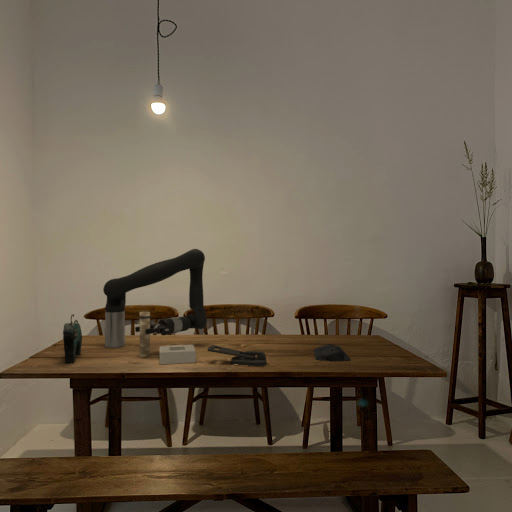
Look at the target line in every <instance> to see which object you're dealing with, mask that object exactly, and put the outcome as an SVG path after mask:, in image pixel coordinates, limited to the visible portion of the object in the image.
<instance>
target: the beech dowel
mask: <svg viewBox="0 0 512 512" xmlns="http://www.w3.org/2000/svg"><path fill="white" fill-rule="evenodd" d="M150 323H151V312H150V311H140V312H139V326H140V332H139V358H140V357H148V358H150V357H151V334H146V333H145V330H146V329H150Z"/></svg>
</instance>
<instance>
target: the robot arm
mask: <svg viewBox="0 0 512 512" xmlns="http://www.w3.org/2000/svg"><path fill="white" fill-rule="evenodd" d="M205 261H206V256H205V254H204V252H203V251H202V250H201V249H199V248H192V249H190V250H188V251H186V252H185V253H183V254H180V255H178V256H176V257H173V258H169V259H165V260H160V261H158V262H155V263H152V264H150V265H146V266H144V267H142V268H140V269H138V270H136V271H134V272H133V273H131V274H128V275H126V276H122V277H118V278H111V279H110V280H107V281H106V282H105V283H104V286H103V287H102V288H103V289H102V290H103V294H104V295H105V296H106V304H105V307H104V308H105V309H104V310H105V313H104V315H105V317H104V319H105V321H104V323H105V326H104V327H105V328H104V348H108V349H109V348H111V349H113V348H116V349H117V348H122V347H125V346H126V329H125V328H126V327H125V326H126V320H125V319H126V313H125V312H126V303H127V302H126V301H127V296H126V295H127V293H128V292H130V291H134V290H136V289H139V288H143V287H147V286H151V285H155V284H157V283H160V282H162V281H165V280H167V279H169V278H170V277H173V276H174V275H177V274H178V273H180V272H184V271H186V270H189V290H188V295H189V296H188V299H189V301H188V302H189V303H188V305H189V309H190V310H192V311H193V312H194V313H193V314H191V313H190V314H186V315H184V316H179V317H166V318H161V319H160V320H159V321H158V322H155V323H151V322H150V329H146V330H145V333H146V334H150V335H153V334H154V335H155V334H157V335H161V336H167V335H172V334H177V333H180V332H185V331H188V330H189V329H195V330H196V329H197V330H203V329H205V327H207V323H208V318H207V317H208V316H207V313H206V309H205V306H204V285H203V283H204V282H203V272H204V271H203V270H204V264H205ZM134 332H136V333H140V325H139V326H136V327H135V330H134Z"/></svg>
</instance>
